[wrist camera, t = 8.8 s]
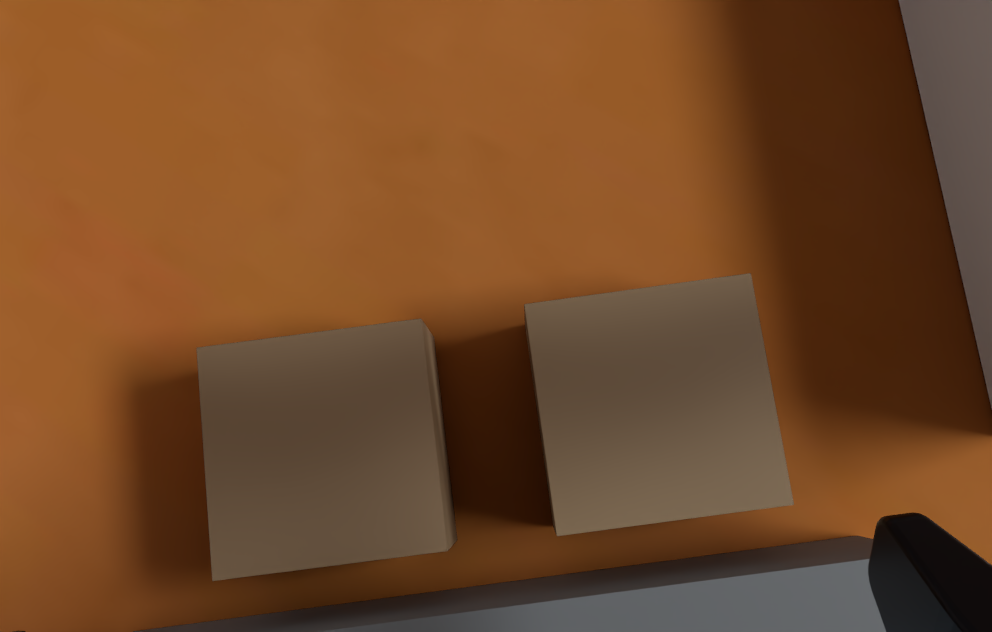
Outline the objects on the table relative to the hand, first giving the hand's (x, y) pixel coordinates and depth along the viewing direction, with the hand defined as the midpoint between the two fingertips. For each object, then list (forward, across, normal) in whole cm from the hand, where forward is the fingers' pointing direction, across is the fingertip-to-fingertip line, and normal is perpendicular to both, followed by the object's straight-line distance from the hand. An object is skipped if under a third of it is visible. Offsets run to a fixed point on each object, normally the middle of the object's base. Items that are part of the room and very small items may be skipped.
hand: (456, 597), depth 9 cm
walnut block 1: (+7, +3, +4) cm, 9 cm away
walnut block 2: (+7, -3, +4) cm, 9 cm away
